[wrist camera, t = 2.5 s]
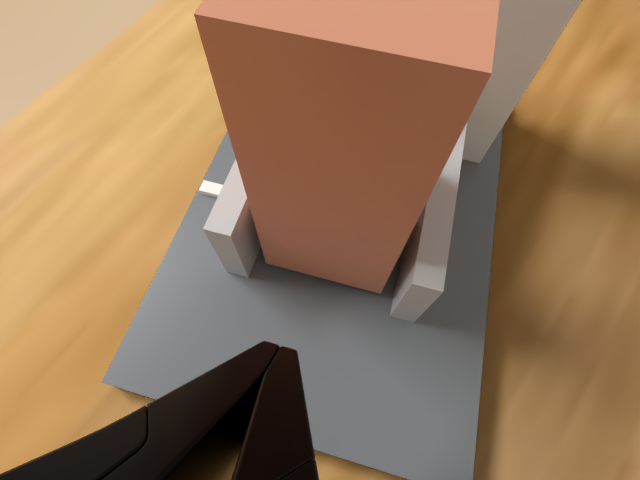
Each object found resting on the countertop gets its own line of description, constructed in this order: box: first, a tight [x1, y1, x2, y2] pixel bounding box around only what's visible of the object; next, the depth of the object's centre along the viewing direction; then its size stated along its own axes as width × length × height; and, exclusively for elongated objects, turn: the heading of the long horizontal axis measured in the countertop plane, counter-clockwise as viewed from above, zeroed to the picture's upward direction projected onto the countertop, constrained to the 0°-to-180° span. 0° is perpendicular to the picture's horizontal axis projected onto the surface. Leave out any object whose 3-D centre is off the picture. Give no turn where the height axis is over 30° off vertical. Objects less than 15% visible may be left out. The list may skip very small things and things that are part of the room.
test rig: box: [102, 0, 582, 480], centre depth 13 cm, size 20×14×13 cm
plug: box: [194, 0, 500, 294], centre depth 12 cm, size 4×5×11 cm
